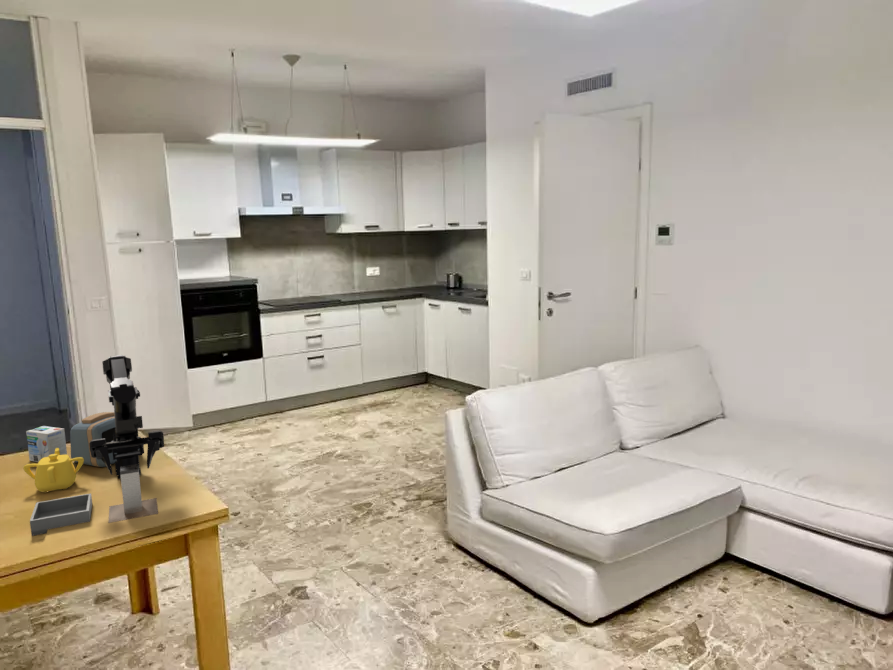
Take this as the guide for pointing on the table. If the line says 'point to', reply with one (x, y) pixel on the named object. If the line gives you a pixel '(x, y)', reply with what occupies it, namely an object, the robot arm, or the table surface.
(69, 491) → the table surface
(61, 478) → the teapot
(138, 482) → the strut
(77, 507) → the bin
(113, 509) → the stud base
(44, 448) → the light bulb box
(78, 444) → the grey toaster
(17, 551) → the table surface
